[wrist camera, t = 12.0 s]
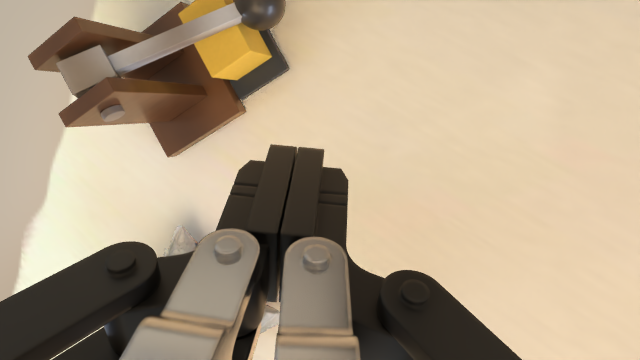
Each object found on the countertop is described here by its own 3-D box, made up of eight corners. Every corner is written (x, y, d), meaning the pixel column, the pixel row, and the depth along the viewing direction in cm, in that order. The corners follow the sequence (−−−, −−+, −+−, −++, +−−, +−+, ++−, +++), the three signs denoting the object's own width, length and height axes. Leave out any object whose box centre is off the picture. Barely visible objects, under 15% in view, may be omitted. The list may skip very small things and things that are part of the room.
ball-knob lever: (268, -17, 33) (271, -45, 29) (291, 26, 33) (297, 3, 29) (68, 69, 30) (45, 48, 26) (94, 116, 30) (74, 102, 26)
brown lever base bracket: (189, 4, 36) (73, -41, 25) (246, 111, 36) (156, 114, 25) (121, 56, 39) (-11, 36, 28) (175, 156, 39) (65, 176, 28)
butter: (242, -21, 35) (212, -39, 30) (289, 69, 35) (267, 64, 30) (196, 14, 36) (162, 1, 32) (242, 99, 36) (214, 98, 32)
